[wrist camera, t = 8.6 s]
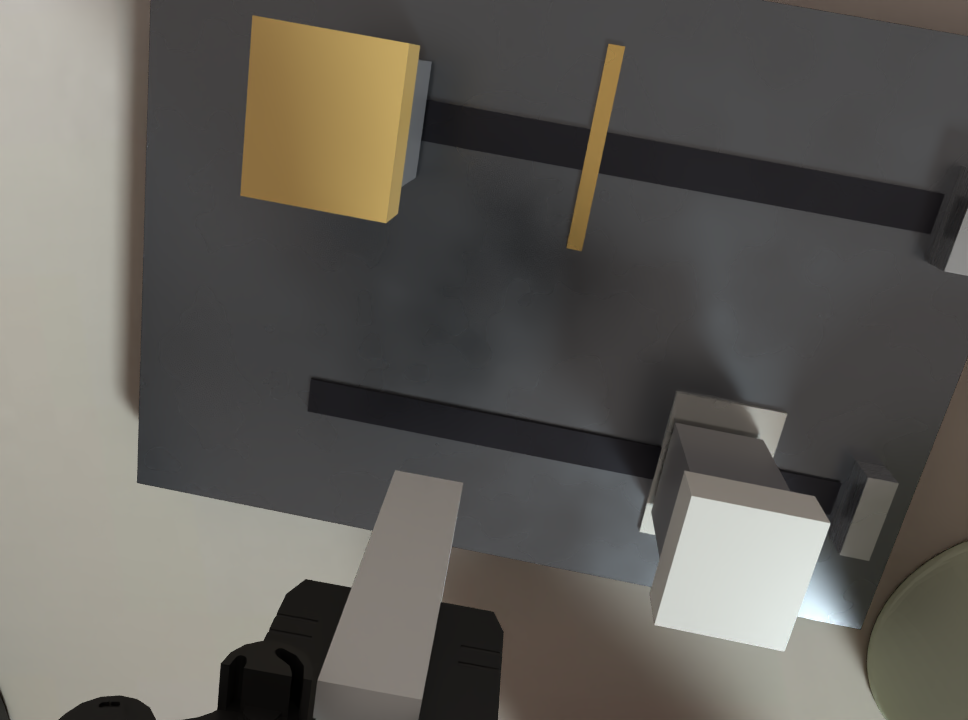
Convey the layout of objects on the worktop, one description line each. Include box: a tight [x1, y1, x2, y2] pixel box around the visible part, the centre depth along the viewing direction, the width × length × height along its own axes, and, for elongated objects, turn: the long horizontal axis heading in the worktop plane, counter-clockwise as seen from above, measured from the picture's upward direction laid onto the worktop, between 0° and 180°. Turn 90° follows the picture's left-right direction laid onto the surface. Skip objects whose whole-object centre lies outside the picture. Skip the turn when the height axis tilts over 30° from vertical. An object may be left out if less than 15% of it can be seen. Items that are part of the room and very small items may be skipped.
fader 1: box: [240, 15, 432, 223], centre depth 18 cm, size 3×3×5 cm
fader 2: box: [650, 423, 831, 652], centre depth 20 cm, size 3×3×5 cm
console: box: [137, 0, 968, 629], centre depth 22 cm, size 22×16×3 cm
